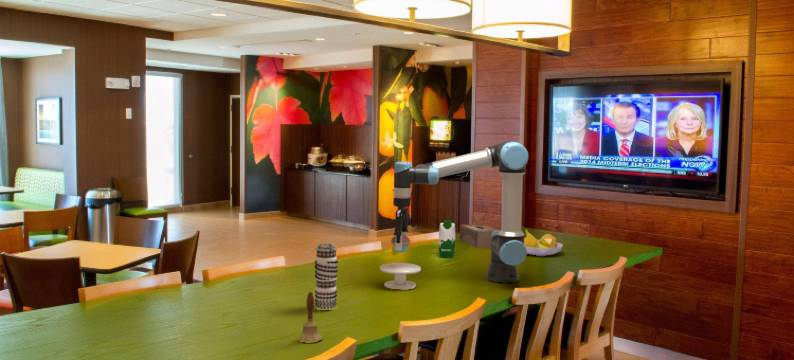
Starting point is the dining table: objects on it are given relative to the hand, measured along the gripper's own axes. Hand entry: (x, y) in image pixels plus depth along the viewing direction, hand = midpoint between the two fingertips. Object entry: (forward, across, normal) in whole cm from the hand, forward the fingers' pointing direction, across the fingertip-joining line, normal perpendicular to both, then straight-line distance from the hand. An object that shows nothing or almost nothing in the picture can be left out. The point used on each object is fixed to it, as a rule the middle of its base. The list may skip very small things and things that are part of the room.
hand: (400, 248), depth 292 cm
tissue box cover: (+17, -115, +23) cm, 119 cm away
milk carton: (+17, -70, +10) cm, 73 cm away
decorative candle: (+17, +42, -20) cm, 49 cm away
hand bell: (+17, +78, -13) cm, 81 cm away
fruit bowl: (+17, -96, +58) cm, 114 cm away
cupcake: (+1, 0, 0) cm, 2 cm away
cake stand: (+17, 0, 0) cm, 17 cm away
